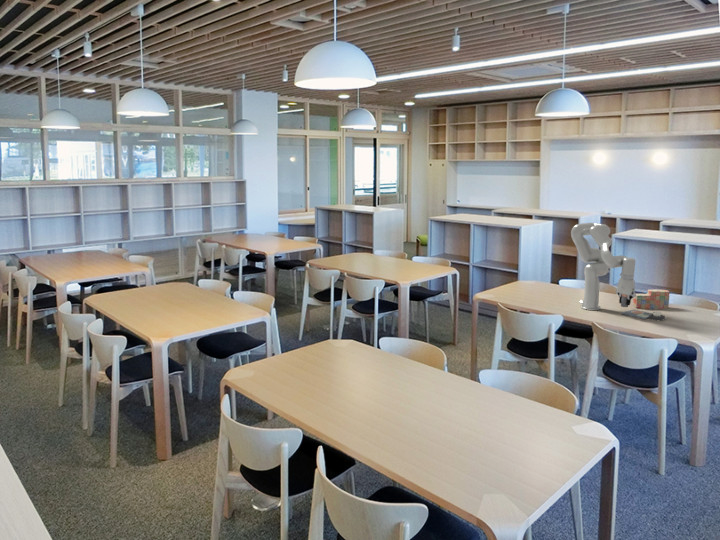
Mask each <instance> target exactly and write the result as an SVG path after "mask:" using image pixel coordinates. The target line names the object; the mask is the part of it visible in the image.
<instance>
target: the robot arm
mask: <svg viewBox="0 0 720 540" xmlns="http://www.w3.org/2000/svg"><path fill="white" fill-rule="evenodd" d="M610 233H611V228H610V226H608V225H607V224H605V223H598V222H597V223H595V222H585V223H577V224H575V225H574V226H573V227H572V228H571V230H570V236H571V240H572V241H573V243H574V246H575V247H576V250H577V252H578V255H579V257H580V259H581V261H582V262H583V263H584V264H585V263H588V264H586V265H585V267H584V268H583V269H584V270H583V274H584V296H583V299H580V301H579V304H581V306H580V307H581V309H583V310H586V309H587V310H586V311H600V310H601V308H602V307H601V306H600V305H599V303H600V287H601V285H600V283H601V282H600V279H599V277H602V276H606V275H607V274H608V272H609V270H610V269H609V268H612V269H616V268H621V273H620V274H619V279H618V282H617V287H616V290H615V293H617V295H618V298H619V299H618V300H619V302H618V304H620V305H621V298H622V294H625V295H627V297H628V299H627V302H626V305H628V306H631V302H632V299H634V297H635V296H636V294H637V293H636V292H635V291H636V289H635V288H636V283H635V269H636V258H633V257H628V256H625V255H622V254H621V255H613V253H611V252H610V251H611V250H610V249H609V248H610V247H611V245H612V244H613V240H612V238H610V236H609V235H610ZM584 236H591V237H592V239H593V240H594V241H595V242H596V244H597V245H598V247H599V248H598V247H591V245H590V243H589V241H588V239H586V238H585V237H584Z"/></svg>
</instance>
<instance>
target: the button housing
mask: <svg viewBox="0 0 720 540" xmlns="http://www.w3.org/2000/svg"><path fill="white" fill-rule="evenodd" d="M651 314H652V315H649V318H648V319H649V320H652V319H653V320H654V321H657V320H660V321H663V319H664V320H666V319H665V318H666V315H663V314H661V316H660V317H657V316H653V313H651Z"/></svg>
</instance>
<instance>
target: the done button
mask: <svg viewBox="0 0 720 540" xmlns="http://www.w3.org/2000/svg"><path fill="white" fill-rule="evenodd" d="M652 314H653V316H657V317H660V316H661V315H662V312H660V311H654V312H653V313H652Z"/></svg>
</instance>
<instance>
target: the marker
mask: <svg viewBox="0 0 720 540" xmlns="http://www.w3.org/2000/svg"><path fill="white" fill-rule="evenodd" d="M627 299H628V297H627V295H625V294H622V298H621V304H620V307H623V308H628V307H629V305H626V302H627Z"/></svg>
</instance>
